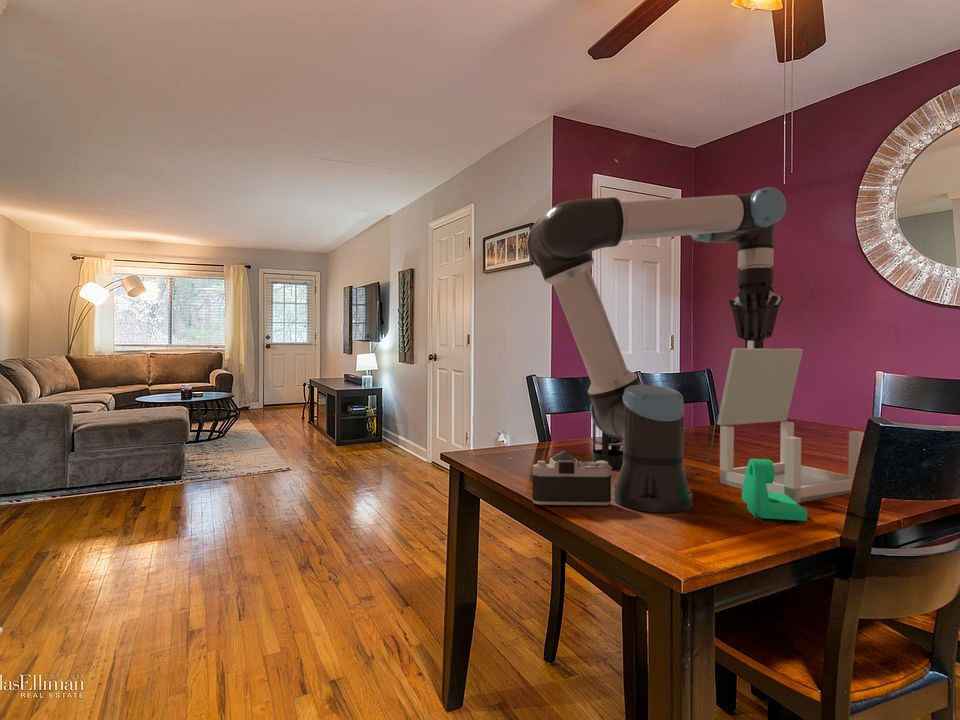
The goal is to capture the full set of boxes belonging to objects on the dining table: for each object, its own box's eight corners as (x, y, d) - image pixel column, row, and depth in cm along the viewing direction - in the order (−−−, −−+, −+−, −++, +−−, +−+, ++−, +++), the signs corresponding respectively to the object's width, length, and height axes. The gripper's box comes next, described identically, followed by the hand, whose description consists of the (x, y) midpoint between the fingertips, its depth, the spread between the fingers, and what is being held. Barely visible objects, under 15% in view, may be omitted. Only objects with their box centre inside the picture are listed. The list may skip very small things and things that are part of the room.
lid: (736, 349, 115) (728, 347, 117) (720, 425, 119) (712, 422, 121) (803, 349, 123) (794, 347, 125) (786, 420, 127) (778, 417, 129)
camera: (605, 494, 109) (605, 447, 109) (615, 506, 101) (615, 455, 101) (530, 493, 110) (530, 446, 110) (533, 505, 101) (533, 454, 101)
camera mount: (809, 527, 89) (809, 468, 89) (761, 524, 91) (761, 466, 91) (783, 506, 101) (784, 454, 101) (741, 504, 103) (742, 452, 103)
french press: (622, 470, 130) (623, 380, 130) (586, 466, 135) (586, 378, 135) (633, 462, 141) (634, 378, 140) (599, 458, 145) (600, 377, 145)
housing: (793, 503, 102) (794, 438, 102) (719, 482, 119) (720, 426, 119) (863, 492, 111) (864, 432, 111) (785, 474, 128) (786, 421, 127)
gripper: (792, 265, 118) (790, 368, 119) (742, 273, 130) (741, 366, 131) (769, 263, 115) (767, 369, 116) (721, 271, 127) (719, 367, 128)
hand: (753, 367), depth 123 cm, fingers closed
